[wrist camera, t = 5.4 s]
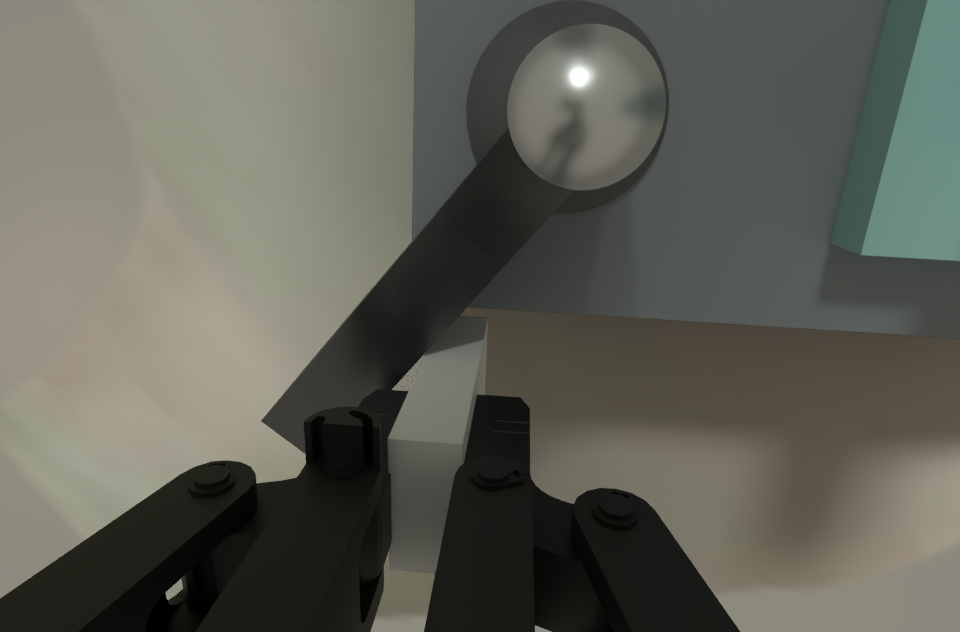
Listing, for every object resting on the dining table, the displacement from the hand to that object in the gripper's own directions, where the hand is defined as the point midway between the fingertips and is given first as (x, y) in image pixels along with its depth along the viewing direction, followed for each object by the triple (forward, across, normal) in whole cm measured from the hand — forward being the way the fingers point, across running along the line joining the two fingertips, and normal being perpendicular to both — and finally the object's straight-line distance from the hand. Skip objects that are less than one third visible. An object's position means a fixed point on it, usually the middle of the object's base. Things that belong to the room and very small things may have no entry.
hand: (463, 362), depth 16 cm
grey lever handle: (+1, 0, +3) cm, 4 cm away
